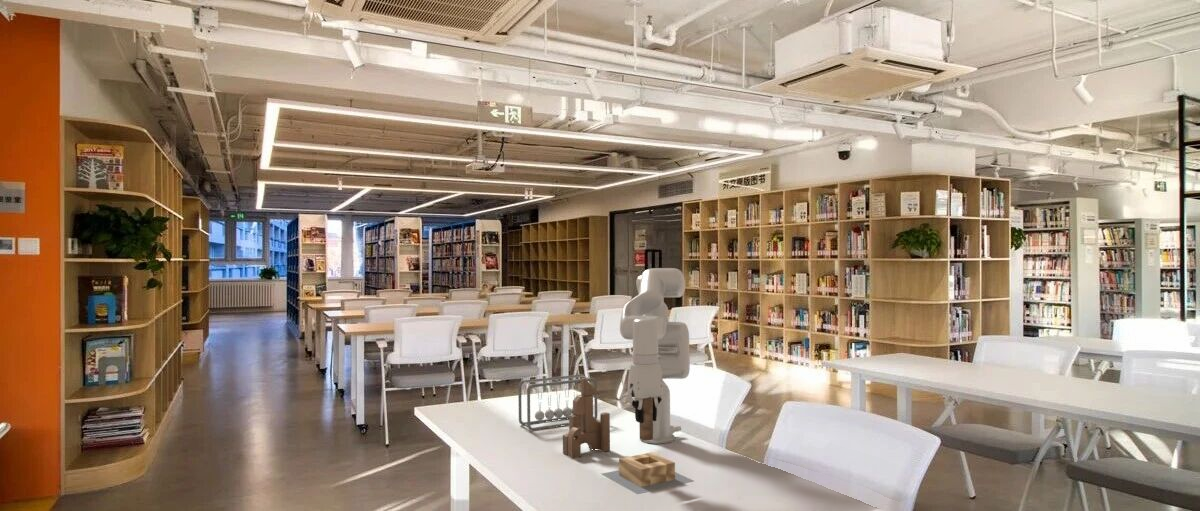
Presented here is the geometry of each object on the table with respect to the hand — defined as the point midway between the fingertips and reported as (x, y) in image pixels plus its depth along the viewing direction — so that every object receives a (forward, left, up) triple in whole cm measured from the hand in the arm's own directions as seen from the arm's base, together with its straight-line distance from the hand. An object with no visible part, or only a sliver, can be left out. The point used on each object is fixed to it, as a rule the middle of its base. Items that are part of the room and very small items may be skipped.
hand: (646, 420), depth 198 cm
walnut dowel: (0, 0, -5) cm, 5 cm away
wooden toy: (+2, -33, -18) cm, 38 cm away
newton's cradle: (-7, -73, -18) cm, 75 cm away
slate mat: (0, 0, -18) cm, 18 cm away
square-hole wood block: (0, 0, -17) cm, 17 cm away
